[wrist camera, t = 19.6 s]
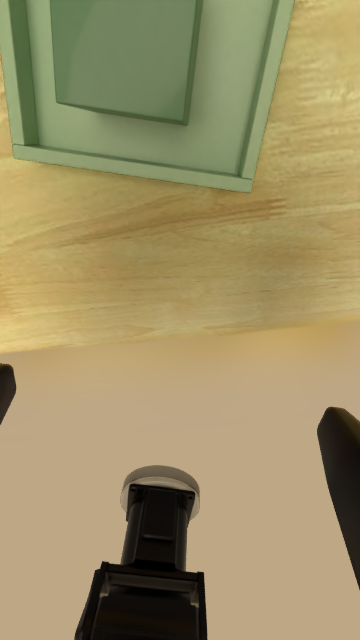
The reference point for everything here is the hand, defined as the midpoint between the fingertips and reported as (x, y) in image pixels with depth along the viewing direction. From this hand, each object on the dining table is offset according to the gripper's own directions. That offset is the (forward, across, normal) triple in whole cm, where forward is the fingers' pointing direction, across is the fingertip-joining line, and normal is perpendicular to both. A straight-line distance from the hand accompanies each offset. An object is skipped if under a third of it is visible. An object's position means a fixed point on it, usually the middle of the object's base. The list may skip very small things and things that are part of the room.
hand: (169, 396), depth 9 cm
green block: (+11, +3, -9) cm, 14 cm away
